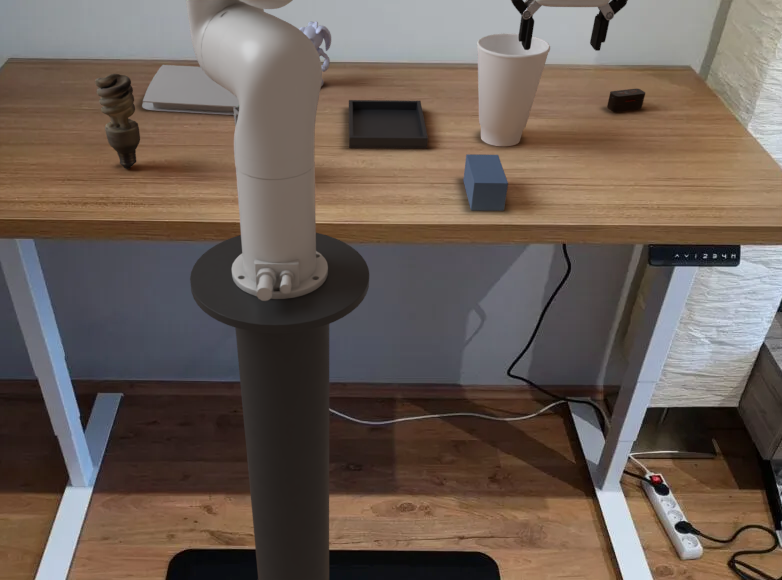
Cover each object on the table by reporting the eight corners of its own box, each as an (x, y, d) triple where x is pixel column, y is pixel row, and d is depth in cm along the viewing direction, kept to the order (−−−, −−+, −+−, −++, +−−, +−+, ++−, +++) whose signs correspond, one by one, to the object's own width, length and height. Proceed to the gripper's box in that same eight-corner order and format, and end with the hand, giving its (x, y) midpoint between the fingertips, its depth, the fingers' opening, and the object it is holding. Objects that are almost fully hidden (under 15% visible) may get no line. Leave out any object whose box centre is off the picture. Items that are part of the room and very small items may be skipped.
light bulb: (103, 170, 131) (85, 76, 121) (124, 157, 134) (108, 65, 125) (131, 177, 129) (116, 82, 119) (152, 163, 133) (138, 71, 123)
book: (161, 81, 162) (159, 61, 160) (273, 87, 160) (272, 67, 158) (137, 109, 151) (134, 88, 148) (257, 116, 148) (256, 95, 146)
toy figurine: (289, 83, 162) (287, 20, 154) (314, 76, 165) (313, 14, 157) (309, 92, 158) (308, 28, 150) (335, 86, 161) (335, 22, 153)
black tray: (427, 148, 138) (427, 138, 137) (349, 148, 138) (349, 137, 137) (419, 110, 151) (420, 100, 150) (348, 109, 151) (348, 99, 150)
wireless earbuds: (646, 109, 152) (650, 92, 150) (613, 114, 150) (617, 96, 148) (632, 101, 155) (636, 84, 153) (599, 105, 154) (603, 88, 152)
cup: (487, 156, 135) (500, 59, 125) (454, 130, 144) (464, 37, 134) (547, 146, 139) (565, 50, 129) (511, 121, 147) (525, 29, 137)
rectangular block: (504, 210, 121) (508, 183, 118) (470, 210, 121) (474, 182, 118) (494, 181, 128) (498, 154, 125) (463, 180, 128) (466, 154, 125)
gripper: (521, -89, 98) (501, 55, 109) (662, -88, 98) (629, 56, 109) (511, -100, 104) (494, 38, 115) (645, -99, 104) (615, 39, 115)
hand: (560, 47), depth 112 cm, fingers open, 9 cm apart
